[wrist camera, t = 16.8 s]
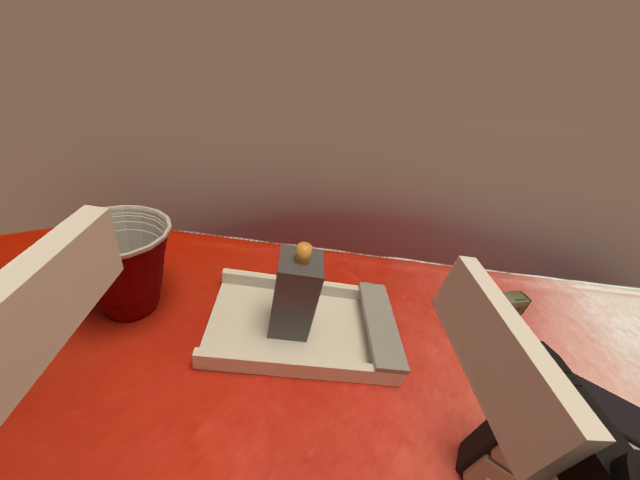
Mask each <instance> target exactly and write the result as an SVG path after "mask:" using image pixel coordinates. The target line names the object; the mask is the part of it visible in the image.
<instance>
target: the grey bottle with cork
mask: <svg viewBox="0 0 640 480" xmlns="http://www.w3.org/2000/svg"><path fill="white" fill-rule="evenodd" d="M324 279H325V275H324V256H323V250H318V249H312V245H311V244H310V243H307V242H300V243H298V246H291V245H285V244H281V250H280V257H279V263H278V269H277V275H276V282H275V288H274V294H273V301H272V307H271V314H270V321H269V327H268V334H267V338H270V339H279V340H289V341H298V342H307V339H308V336H309V332H310V329H311V325H312V322H313V318H314V315H315V311H316V307H317V304H318V300H319V297H320V293H321V290H322V286H323V283H324Z"/></svg>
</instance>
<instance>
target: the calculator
mask: <svg viewBox="0 0 640 480" xmlns="http://www.w3.org/2000/svg"><path fill="white" fill-rule="evenodd" d="M572 375H575V376H576V377H577V379H578V380H579V381H580V382H581V384H582V385H583V386H582V387H583V388H584V389H586V390H587V391H588V393H589V394H590V395H591V396H592V398H593V399H594V400H595V401H596V403H597V404H598V405H599V406H600V408H601V409H602V410H603V411H604V413H605V414H606V415H607V417H608V418H609V419H610V420H611V422H612V423H613V424H614V425H615V427H616V428H617V429H618V430H619V432H620V433H621V434H622V435H623V437H624V438H625V439H626V440H627V442H628V443H629V444H630V445H631V446H632V447H633V448H634V449H637V450H640V407H638V406H636V405H634V404H632V403H630V402H628V401H626V400H624V399H622V398H621V397H619V396H617V395H615V394H613V393H611V392H609V391H607V390H605V389H603V388H601V387H599V386H597V385H595V384H593V383H592V382H590V381H588V380H586V379H584V378H582V377H580V376H578V375H576V374H574V373H572ZM457 471H458V472H459V473H460V474H461V475H463V479H464V480H515V478H514V476H513V474H512V472H511V470H510V468H509V465H508V463H507V461H506V459H505V457H504V455H503V453H502V451H501V448H500V446H499V444H498V442H497V440H496V438H495V436H494V434H493V431H492V429H491V427H490V425H489V423H488V421H487V420H485V421H484V422H483V423H482V424H481V425H480V426H479V427H478V428H477V429H475V430H474V431H473V432H472V433H471V434H470V435H469V436H468V437H467V438H465V439H464V440H463V441H462V442H461V444H460V449H459V456H458V463H457ZM551 480H559V479H558V478H557V476H556V477H554V478H553V479H551Z"/></svg>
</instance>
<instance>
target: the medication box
mask: <svg viewBox="0 0 640 480" xmlns="http://www.w3.org/2000/svg"><path fill="white" fill-rule="evenodd" d="M502 293H503V294H504V295H505V297H506V298H507V299H508V300H509V302H510V303H511V304H512V306H513V307H514V308H515V310H516V311H517V312H518V314H519V315H520V316H521V314H522V313H523V312H524V311H525V309H526V308H527V307H528V305H529V304H530V303H531V301H532V300H531V299H530V298H528V297H527V296H526V295H525V294H524V293H522V292H521V291H509V292H502Z"/></svg>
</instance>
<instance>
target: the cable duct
mask: <svg viewBox="0 0 640 480" xmlns="http://www.w3.org/2000/svg"><path fill="white" fill-rule="evenodd" d="M275 282H276V275H273V274H265V273H258V272H250V271H243V270H235V269H227V268H224V269H223V272H222V285H221V287H220V290H219V293H218V296H217V299H216V302H215V304H214V307H213V310H212V313H211V316H210V319H209V322H208V324H207V327H206V330H205V333H204V336H203V339H202V341H201V344H200V347H195V348H194V351H193V354H192V363H193V369H195V370H206V371H218V372H230V373H242V374H254V375H266V376H278V377H290V378H302V379H313V380H325V381H337V382H349V383H361V384H373V385H385V386H397V387H400V386H401V384H402V383H403V381H404V380H405V378H406V377H407V375H408V374H409V372H410V369H409V366H408V362H407V359H406V355H405V352H404V349H403V345H402V342H401V339H400V335H399V332H398V328H397V325H396V322H395V318H394V315H393V312H392V308H391V305H390V301H389V298H388V295H387V291H386V288H385V285H379V284H372V283H364V282H359V285H358V286H357V285H349V284H342V283H334V282H326V281H324V283H323V286H322V290H321V293H320V297H319V300H318V304H317V307H316V311H315V315H314V318H313V322H312V325H311V329H310V332H309V336H308V339H307V342H298V341H289V340H279V339H270V338H267V334H268V327H269V321H270V314H271V307H272V301H273V294H274V288H275Z"/></svg>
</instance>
